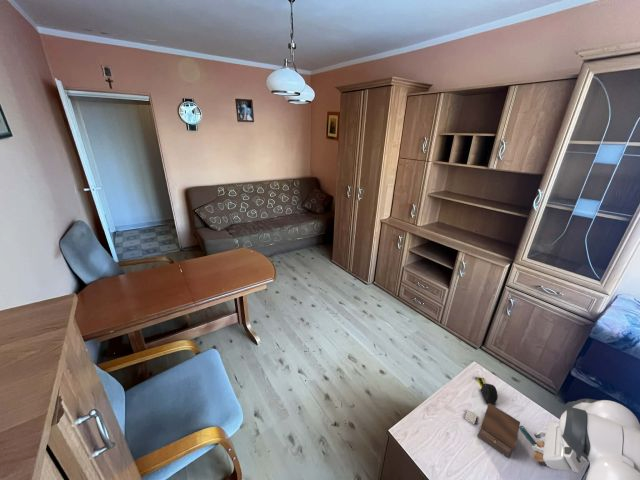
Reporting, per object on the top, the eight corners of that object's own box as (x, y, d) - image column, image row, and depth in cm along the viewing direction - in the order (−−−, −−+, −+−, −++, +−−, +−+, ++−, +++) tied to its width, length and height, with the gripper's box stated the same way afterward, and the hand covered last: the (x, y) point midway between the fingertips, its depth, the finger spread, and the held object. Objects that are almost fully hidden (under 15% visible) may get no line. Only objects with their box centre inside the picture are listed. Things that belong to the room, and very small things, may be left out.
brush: (548, 465, 108) (523, 434, 111) (539, 465, 110) (516, 434, 113) (549, 449, 114) (526, 420, 117) (541, 449, 116) (518, 420, 119)
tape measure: (494, 405, 132) (499, 395, 129) (485, 404, 133) (490, 394, 129) (482, 379, 145) (487, 369, 142) (474, 378, 146) (479, 368, 142)
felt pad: (465, 416, 125) (464, 418, 126) (474, 422, 123) (473, 424, 124) (468, 410, 128) (467, 412, 129) (476, 416, 126) (476, 417, 127)
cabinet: (507, 460, 111) (514, 450, 108) (475, 437, 119) (480, 427, 115) (513, 432, 121) (520, 422, 118) (483, 412, 129) (489, 402, 125)
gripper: (570, 418, 110) (532, 415, 120) (569, 460, 96) (526, 453, 107) (579, 432, 110) (540, 428, 120) (579, 477, 96) (535, 468, 106)
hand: (534, 440), depth 113 cm, fingers open, 5 cm apart
